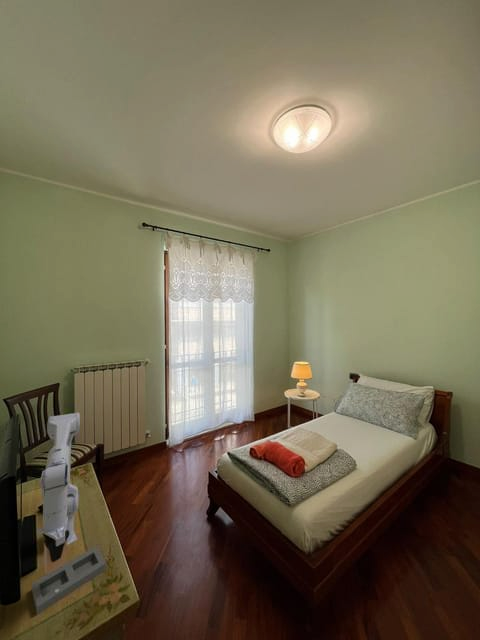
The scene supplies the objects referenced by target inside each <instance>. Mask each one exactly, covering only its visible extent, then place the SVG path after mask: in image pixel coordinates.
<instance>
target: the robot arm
mask: <svg viewBox="0 0 480 640" xmlns="http://www.w3.org/2000/svg"><path fill="white" fill-rule="evenodd" d="M47 419H48V420H47V424H46V432H47V435H48V437H49V439H50V440H53V446H52V447H51V448H50V449H49V450H48V455H47V460H46V465H45V469H44V470H42V471H41V472H42V473H41V476H40V488H41V497H42V499H43V501H42V526H41V527H39V528H38V529H37V531H36V532H37V535H38V536H39V535H43V537H44V541H43V542H45V545H46V547H47V548H48V549H49V552H50V558H51V561H52V563H53V562H55V561H56V560H58V559H60V558H61V555H62V552H63V548H64V545H65V542H66V540H67V546H68V545H70V544H72V543H73V542H76V541H77V540H78V538H77V535H76V533H75V530H74V526H75V525H74V523H75V519H74V518H75V513H77V511H78V510H79V488H78V487H77V485H75V484H72V483H71V482H70V481H71V453H72V441H73V438H74V437H75V436H76V435H78V434H79V432H80V425H81V424H80V423H81V421H80V420H81V414H80V412H78V411H77V412H74V413H68V414H61V415H54V416H52V415H50V416H49V417H48V418H47Z"/></svg>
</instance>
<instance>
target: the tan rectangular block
mask: <svg viewBox="0 0 480 640" xmlns="http://www.w3.org/2000/svg"><path fill="white" fill-rule="evenodd" d="M43 542H44V541H43ZM67 550H68V545H67V540H66V542H65V545H64V548H63V552H62V555H61V558H60V559H58V560H56V561H55V562H53V563H52V561H51V558H50V552H49V549H48V548H47V547H46V545H45V542H44V543H43V568H44V572H45V575H47V574H49V573H51V572H52V571H54V570H56V569H58V568H59V567H61V566H63V565H64V564H66V563H68V561H67V560H68V559H67V557H68V556H67V555H68V551H67Z"/></svg>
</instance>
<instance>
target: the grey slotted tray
mask: <svg viewBox="0 0 480 640" xmlns="http://www.w3.org/2000/svg"><path fill="white" fill-rule="evenodd" d="M106 570H107V563H106V561H105V559H104V557H103V556H102V554H101V552H100V550H99V548H98V546H96V545H95V546H93V548H90V549H89V550H87V551H85V552H84V553H82V554H81V555H80V554H79V556H77V557H75V558H73V559H72V560H70V561H67V563H66V564H64V565H63V566H61V567H59V568H58V569H56V570H54V571H52V572H51V573H49V574H47V575H46V574H45V575H44V576H42V577H40V578H38V579H37V580H34V581H33V582H31V592H32V598H33V602H34V607H35V611H36V616H38V615H39V614H41V613H42V612H44V611H46V610H47V609H48V608H50V607H52V606H53V605H55V604H56V603H57V602H59V601H60V600H63V599H64V598H65V597H67V596H69V594H72V593H73V592H74V591H76V590H77V589H79V588H80V587H82V586H84V585H85V584H86V583H88V582H90V581H91V580H93V579H94V578H96V577H98V576H99V575H100V574H102V573H104V572H105V571H106Z"/></svg>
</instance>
